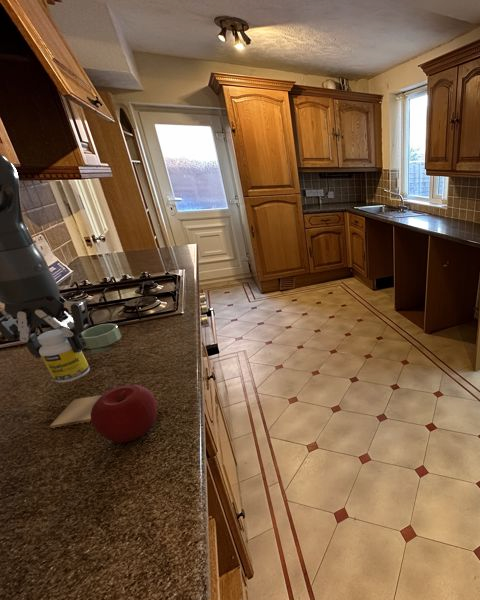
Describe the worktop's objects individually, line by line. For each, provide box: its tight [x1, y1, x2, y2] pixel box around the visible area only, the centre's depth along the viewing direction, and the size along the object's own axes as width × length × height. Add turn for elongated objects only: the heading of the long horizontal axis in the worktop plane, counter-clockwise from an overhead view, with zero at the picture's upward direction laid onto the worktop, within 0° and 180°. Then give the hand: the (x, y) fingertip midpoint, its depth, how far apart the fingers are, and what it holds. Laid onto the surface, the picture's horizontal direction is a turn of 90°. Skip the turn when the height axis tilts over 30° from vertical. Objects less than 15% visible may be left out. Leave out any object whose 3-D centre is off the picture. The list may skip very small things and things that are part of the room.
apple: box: [90, 384, 158, 443], centre depth 62 cm, size 10×10×10 cm
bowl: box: [81, 323, 123, 355], centre depth 92 cm, size 8×8×5 cm
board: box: [49, 394, 103, 429], centre depth 69 cm, size 10×8×1 cm
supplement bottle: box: [37, 329, 90, 383], centre depth 64 cm, size 5×5×10 cm
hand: (61, 352), depth 63 cm, fingers closed on supplement bottle, 5 cm apart
